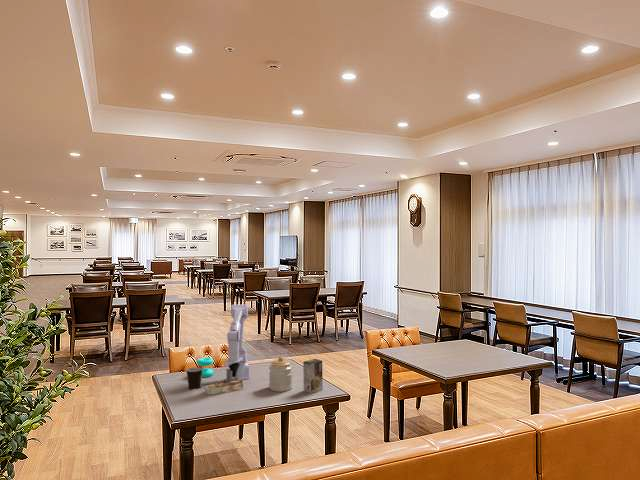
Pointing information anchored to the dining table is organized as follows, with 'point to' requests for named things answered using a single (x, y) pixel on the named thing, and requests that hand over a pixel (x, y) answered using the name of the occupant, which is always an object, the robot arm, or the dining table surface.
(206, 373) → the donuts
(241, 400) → the dining table surface
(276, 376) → the jar
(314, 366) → the coffee box
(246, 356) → the robot arm
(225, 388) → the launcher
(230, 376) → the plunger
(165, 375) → the dining table surface
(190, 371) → the coffee mug
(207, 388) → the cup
